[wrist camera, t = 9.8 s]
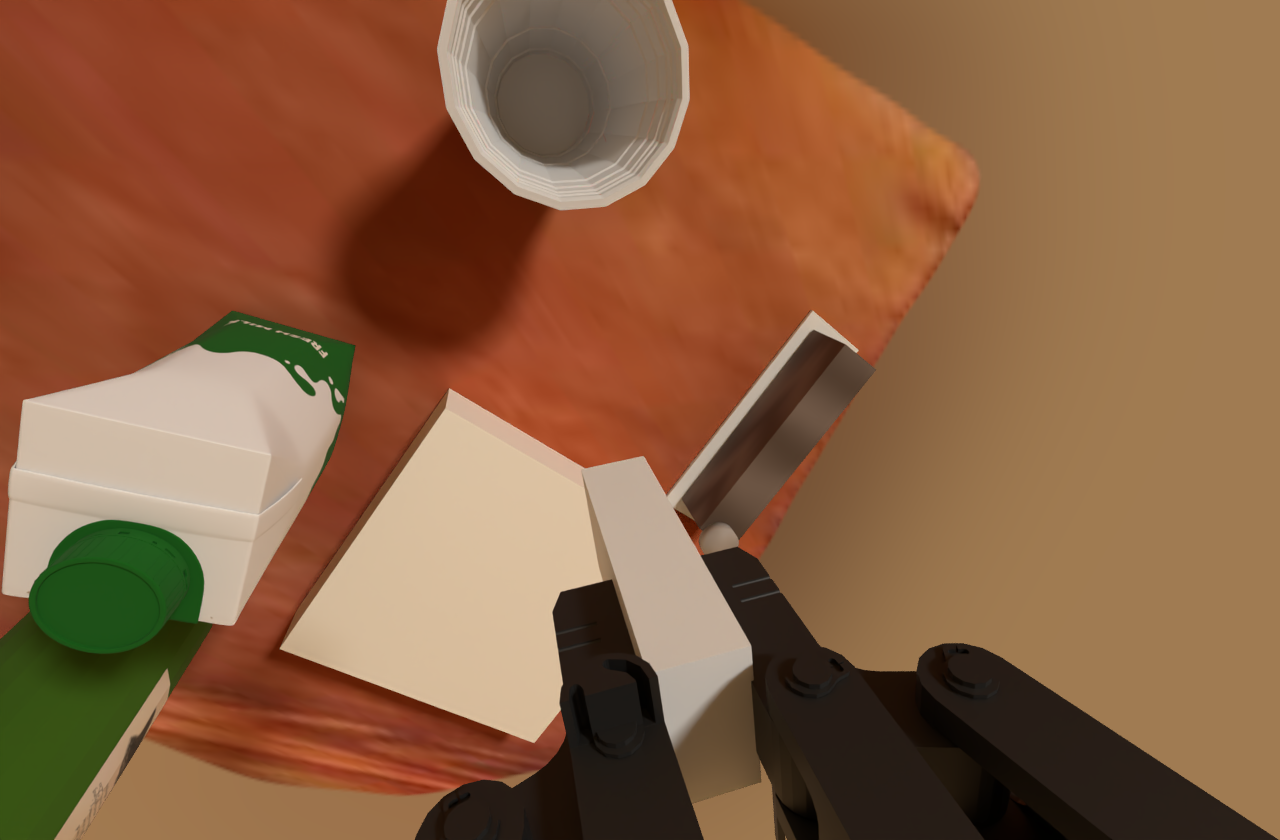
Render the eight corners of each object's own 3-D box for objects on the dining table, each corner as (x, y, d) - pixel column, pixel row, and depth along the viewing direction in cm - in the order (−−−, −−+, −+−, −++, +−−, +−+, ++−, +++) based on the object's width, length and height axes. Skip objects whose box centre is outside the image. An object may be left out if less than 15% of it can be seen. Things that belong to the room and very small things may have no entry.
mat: (662, 499, 48) (663, 501, 48) (810, 309, 45) (812, 310, 45) (711, 529, 50) (712, 531, 50) (856, 349, 47) (858, 350, 47)
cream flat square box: (296, 610, 45) (279, 648, 41) (449, 388, 41) (445, 408, 38) (530, 703, 52) (534, 743, 49) (674, 521, 49) (689, 549, 45)
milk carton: (193, 427, 39) (-70, 644, 20) (218, 288, 36) (-53, 394, 18) (343, 460, 42) (229, 678, 23) (375, 333, 39) (277, 465, 21)
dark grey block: (702, 530, 49) (726, 569, 44) (671, 511, 48) (692, 550, 43) (842, 353, 47) (884, 373, 42) (813, 329, 45) (853, 347, 40)
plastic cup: (625, 213, 40) (676, 225, 29) (449, 190, 37) (433, 193, 26) (648, 20, 36) (716, -49, 26) (456, -21, 34) (440, -119, 23)
